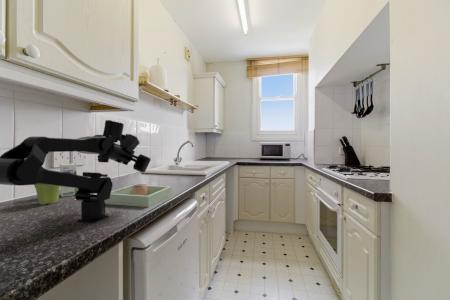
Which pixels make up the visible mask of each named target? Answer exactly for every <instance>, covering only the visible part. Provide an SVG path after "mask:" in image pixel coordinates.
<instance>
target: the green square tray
mask: <svg viewBox="0 0 450 300" xmlns="http://www.w3.org/2000/svg"><path fill="white" fill-rule="evenodd" d="M133 185H134V184H131V185H128V186H124V187H121V188H117V189H114V190H111V194H110V198H109V199H107V200H105V205H117V206H128V207H129V206H131V207H139V208H140V207H143V208H150V207H151V206H153V205H155V204H157V203H160V202H162V201H164V200H165V199H167V198H169V197H171V196H172V193H173V192H172V190H173V189H172V186H166V185H165V186H163V185H162V186H161V185H148V184H146V185H147V196H143V195H132V186H133Z"/></svg>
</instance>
